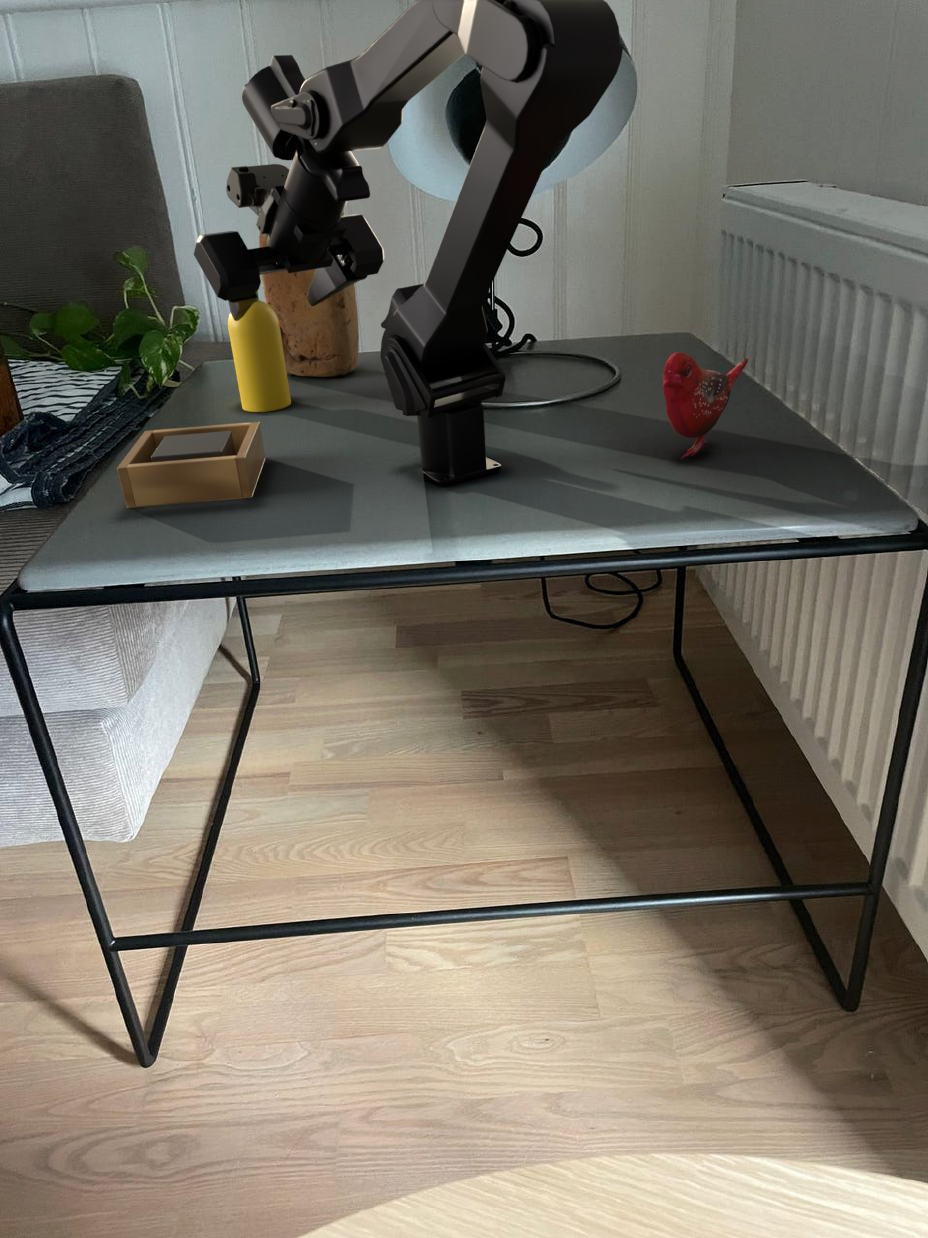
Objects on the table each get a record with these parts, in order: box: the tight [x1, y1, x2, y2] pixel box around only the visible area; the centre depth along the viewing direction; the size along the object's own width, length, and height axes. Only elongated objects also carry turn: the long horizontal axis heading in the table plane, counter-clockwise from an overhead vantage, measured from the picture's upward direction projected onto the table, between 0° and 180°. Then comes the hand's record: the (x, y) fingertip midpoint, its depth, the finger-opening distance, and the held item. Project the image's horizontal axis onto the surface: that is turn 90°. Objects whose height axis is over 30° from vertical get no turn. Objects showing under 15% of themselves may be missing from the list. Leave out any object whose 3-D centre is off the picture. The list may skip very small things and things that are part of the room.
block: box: [258, 211, 360, 378], centre depth 117 cm, size 11×8×20 cm
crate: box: [116, 421, 266, 509], centre depth 84 cm, size 11×11×4 cm
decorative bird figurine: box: [662, 351, 749, 460], centre depth 84 cm, size 3×18×10 cm, turn 143°
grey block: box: [151, 431, 236, 462], centre depth 84 cm, size 6×6×4 cm
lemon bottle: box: [227, 290, 292, 413], centre depth 106 cm, size 6×6×13 cm
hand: (273, 309), depth 100 cm, fingers open, 9 cm apart
